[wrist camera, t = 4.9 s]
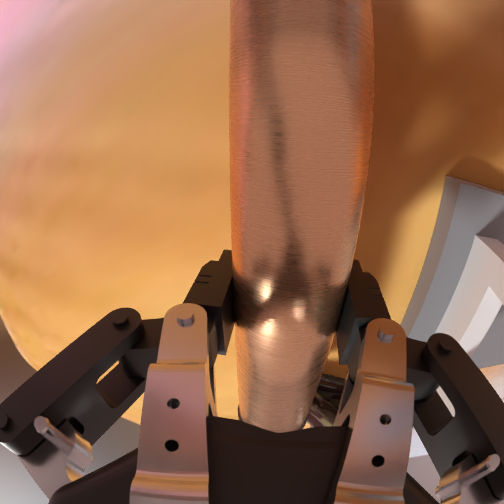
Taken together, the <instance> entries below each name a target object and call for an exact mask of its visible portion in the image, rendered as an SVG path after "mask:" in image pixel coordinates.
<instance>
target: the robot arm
mask: <svg viewBox="0 0 504 504" xmlns="http://www.w3.org/2000/svg"><path fill="white" fill-rule="evenodd" d="M234 323H235V318H234V295H233V270H232V250H224V251H223V253H222V255H221V257H220V259H219V261H209V262H208V263H207V264H205V265H204V266H203V267H202V268H201V270H200V272H199V274H198V276H197V278H196V279H195V282H194V283H193V285H192V287H191V289H190V291H189V293H188V294H187V296H186V298H185V300H184V302H183V304H179V305H176V306H174V307H172V308H171V309H169V310H168V311H167V313H166V314H165V317H164V318H159V319H147V320H141V316H140V314H139V313H138V312H137V311H136V310H134V309H132V308H119V309H116V310H114V311H112V312H110V313H109V314H107V315H106V316H105V317H104V318H102V319H101V320H100V321H99V322H97V323H96V324H95V325H93V326H92V327H91V328H90V329H88V330H87V331H86V332H85V333H83V334H82V335H81V336H80V337H78V338H77V339H76V340H75V341H74V342H72V343H71V344H70V345H69V346H67V347H66V348H65V349H64V350H62V351H61V352H60V353H59V354H58V355H56V356H55V357H54V358H53V359H52V360H50V361H49V362H48V363H47V364H46V365H44V366H43V367H42V368H41V369H40V370H39V371H37V372H36V373H35V374H34V375H33V376H32V377H30V378H29V379H28V380H27V381H26V382H25V383H24V384H22V385H21V386H20V387H19V388H18V389H17V390H16V391H14V392H13V393H12V394H11V395H10V396H9V397H8V398H7V399H5V400H4V401H3V402H2V403H1V404H0V443H1V444H2V445H4V446H5V447H6V448H8V449H9V450H10V451H11V452H12V453H13V454H14V455H16V456H17V457H19V459H20V460H21V462H22V463H23V465H24V466H25V468H26V469H27V471H28V472H29V473H30V475H31V476H32V478H33V479H34V480H35V482H36V483H37V484H38V486H39V487H40V488H41V490H42V491H43V492H44V493H45V495H47V497H48V498H49V499H50V500H49V503H48V504H439V503H438V502H437V501H436V500H435V499H434V498H433V497H432V496H431V495H430V494H429V493H428V492H427V491H425V489H424V488H423V487H422V486H421V485H420V484H419V483H418V482H417V481H416V480H414V479H413V478H412V477H411V476H410V475H409V474H408V473H407V466H408V460H409V453H410V445H411V436H412V425H413V426H414V428H415V430H416V432H417V434H418V436H419V437H420V439H421V441H422V443H423V445H424V447H425V448H426V450H427V452H428V454H429V456H430V458H431V460H432V462H433V464H434V465H435V467H436V469H437V471H438V473H439V475H440V477H441V479H440V482H439V486H437V488H436V490H435V495H436V497H438V498H440V500H441V503H440V504H499V502H500V501H502V500H504V403H503V401H502V400H501V398H500V397H499V395H498V394H497V393H496V391H495V390H494V388H493V387H492V386H491V384H490V383H489V381H488V380H487V379H486V377H485V376H484V375H483V373H482V372H481V371H480V369H479V368H478V367H477V366H476V364H475V363H474V362H473V360H472V359H471V358H470V357H469V355H468V354H467V353H466V352H465V350H464V349H463V348H462V347H461V346H460V344H459V343H458V342H457V341H456V340H455V339H454V338H453V337H451V336H450V335H448V334H445V333H435V334H433V335H431V336H430V337H429V339H428V341H427V342H423V341H419V340H415V339H411V338H408V337H406V333H405V331H404V329H403V328H402V327H401V326H400V325H399V324H398V323H397V322H395V321H393V320H391V318H390V315H389V312H388V309H387V306H386V304H385V301H384V298H383V297H382V293H381V290H380V288H379V285H378V282H377V280H376V279H375V278H374V277H373V276H372V275H371V274H370V273H367V272H362V269H361V266H360V263H359V261H358V260H353V264H352V269H351V273H350V278H349V282H348V286H347V290H346V294H345V298H344V302H343V306H342V310H341V314H340V317H339V321H338V324H337V328H336V336H337V345H338V355H339V365H348V366H349V372H348V374H347V376H346V380H345V384H344V388H343V392H342V396H341V400H340V404H339V408H338V412H337V415H336V419H335V422H334V424H333V426H317V427H312V428H307V429H301V430H296V431H290V432H283V433H276V432H272V431H269V430H266V429H263V428H260V427H257V426H254V425H251V424H248V423H246V422H243V421H240V420H234V419H227V418H221V417H217V407H216V388H215V367H214V363H215V360H216V357H217V354H221V355H226V352H227V348H228V345H229V341H230V337H231V334H232V330H233V327H234ZM117 361H119V364H118V365H117V366H116V367H115V368H114V369H112V370H111V371H110V372H109V373H108V374H107V375H106V376H105V377H104V378H103V379H102V380H101V381H100V382H98V383H97V380H98V379H99V377H100V376H101V375H102V374H104V373H105V372H106V371H107V370H108V369H109V368H110V367H111V366H112V365H113V364H114V363H116V362H117ZM96 383H97V384H96ZM439 386H440V387H441V388H442V390H443V391H444V393H445V394H446V396H447V397H448V399H449V400H450V402H451V403H452V405H453V407H454V409H455V416H454V417H453V416H452V414H451V413H450V411H449V409H448V408H447V406H446V405H445V403H444V402H443V400H442V398H441V397H440V395H439V394H438V392H437V391H436V390H437V389H438V387H439ZM144 392H145V393H144ZM143 393H144V400H143V408H142V416H141V425H140V434H139V446H138V448H136V449H135V450H133V451H131V452H129V453H127V454H126V455H124V456H122V457H120V458H118V459H117V460H115V461H113V462H111V463H109V464H107V465H106V466H104V467H101V468H99V469H97V470H95V471H94V472H91V473H89V474H87V475H85V476H84V471H85V468H86V467H87V466H90V465H91V464H92V460H93V459H92V448H91V446H92V445H93V444H94V443H95V442H96V441H97V440H98V439H99V438H100V437H101V436H102V435H103V434H104V433H105V432H106V431H107V430H108V429H109V428H110V427H111V426H112V425H113V424H114V423H115V422H116V421H117V420H118V419H119V418H120V417H121V416H122V415H123V413H124V412H125V411H126V410H127V409H128V408H129V407H130V406H131V405H132V404H133V403H134V402H135V401H136V400H137V399H138V398H139V397H140V396H141V395H142V394H143Z"/></svg>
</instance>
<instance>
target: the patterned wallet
mask: <svg viewBox="0 0 504 504" xmlns="http://www.w3.org/2000/svg"><path fill="white" fill-rule="evenodd" d="M345 380H346V379H343V378H339V377H334V376H332V375H330V376H329V375H327V374H322V376H321V379H320V382H319V385H318V387H317V390H316V393H315V396H314V399H313V401H312V404H311V407H310V409H309V414H308V418H307V421H306V422H308V423H309V424H310V425H311V427H310V428H312V427H317V426H333V424H334V422H335V419H336V415H337V412H338V408H339V404H340V400H341V396H342V392H343V388H344V384H345ZM412 428H413V425H412Z"/></svg>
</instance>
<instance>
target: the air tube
mask: <svg viewBox="0 0 504 504" xmlns="http://www.w3.org/2000/svg"><path fill="white" fill-rule="evenodd" d="M374 74H375V64H374V30H373V15H372V4H371V0H231V3H230V57H229V140H230V202H231V239H232V270H233V295H234V318H235V339H236V358H237V376H238V393H239V406H238V418H239V420H240V421H243V422H246V423H248V424H251V425H254V426H257V427H260V428H263V429H266V430H269V431H272V432H276V433H283V432H290V431H296V430H301V429H303V428H304V426H305V424H306V421H307V418H308V414H309V409H310V407H311V404H312V401H313V399H314V396H315V393H316V390H317V387H318V385H319V382H320V379H321V376H322V373H323V370H324V367H325V364H326V361H327V358H328V355H329V351H330V348H331V345H332V342H333V338H334V335H335V331H336V328H337V324H338V321H339V317H340V314H341V310H342V306H343V302H344V298H345V294H346V290H347V286H348V282H349V278H350V273H351V269H352V264H353V259H354V255H355V250H356V245H357V240H358V234H359V229H360V223H361V217H362V211H363V205H364V198H365V192H366V184H367V177H368V168H369V159H370V150H371V138H372V125H373V109H374Z"/></svg>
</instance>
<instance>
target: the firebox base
mask: <svg viewBox="0 0 504 504" xmlns="http://www.w3.org/2000/svg"><path fill="white" fill-rule="evenodd" d="M400 326H401V327H402V328H403V329H404V331H405V333H406V337H408V338H411V339H415V340H419V341H423V342H427V341H428V339H429V337H430V336H431V335H433V334H435V333H445V334H448V335H450V336H451V337H453V338H454V339H455V340H456V341H457V342H458V343H459V344H460V346H461V347H462V348H463V349H464V350H465V352H466V353H467V354H468V355H469V357H470V358H471V359H472V360H473V362H474V363H475V364H476V366H477V367H478V368H479V369H480V368H485V367H490V366H495V365H500V364H504V192H501V191H498V190H495V189H492V188H489V187H486V186H483V185H479V184H476V183H473V182H469V181H466V180H462V179H458V178H454V177H450V176H447V175H446V179H445V184H444V189H443V194H442V199H441V204H440V208H439V213H438V217H437V221H436V225H435V228H434V232H433V236H432V239H431V243H430V246H429V250H428V253H427V256H426V259H425V262H424V265H423V268H422V271H421V274H420V277H419V280H418V283H417V286H416V288H415V291H414V294H413V296H412V299H411V301H410V304H409V306H408V309H407V311H406V313H405V316H404V318H403V321H402V323H401V325H400ZM436 391H437V392H438V394H439V395H440V397H441V398H442V400H443V402H444V403H445V405H446V406H447V408H448V409H449V411H450V413H451V414H452V416H453V417H454V416H455V409H454V407H453V405H452V403H451V402H450V400H449V399H448V397H447V396H446V394H445V393H444V391H443V390H442V388H441V387H440V386H439V387H438V389H437V390H436Z"/></svg>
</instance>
